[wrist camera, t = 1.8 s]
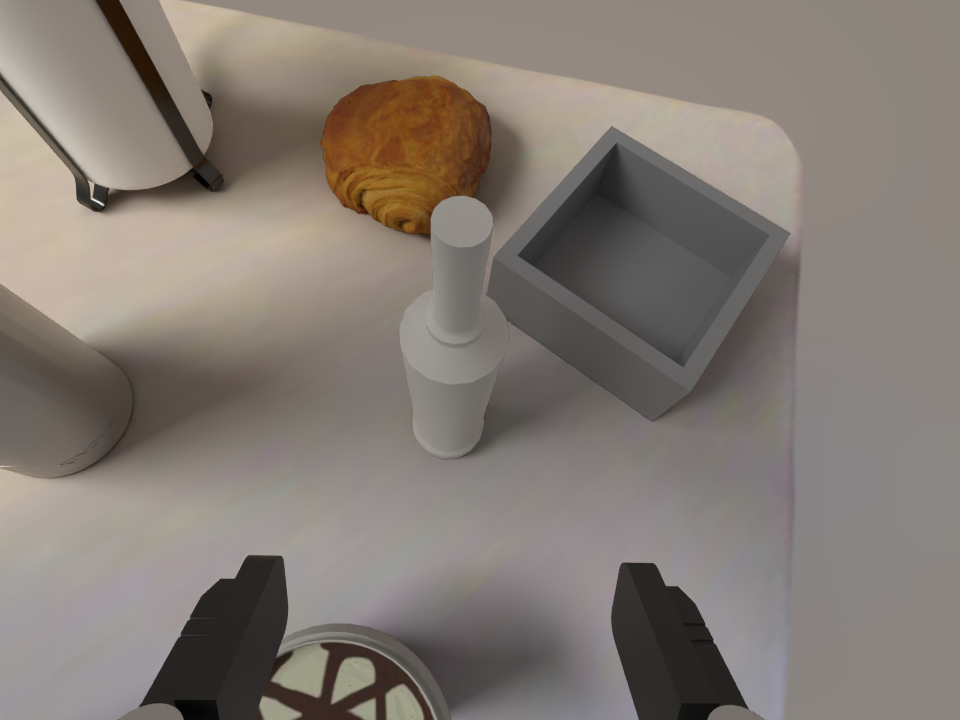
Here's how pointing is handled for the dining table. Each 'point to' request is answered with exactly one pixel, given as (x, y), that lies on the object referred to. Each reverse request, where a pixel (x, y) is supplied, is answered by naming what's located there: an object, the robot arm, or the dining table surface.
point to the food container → (349, 678)
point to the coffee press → (107, 92)
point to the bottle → (454, 333)
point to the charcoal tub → (634, 272)
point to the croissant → (405, 149)
